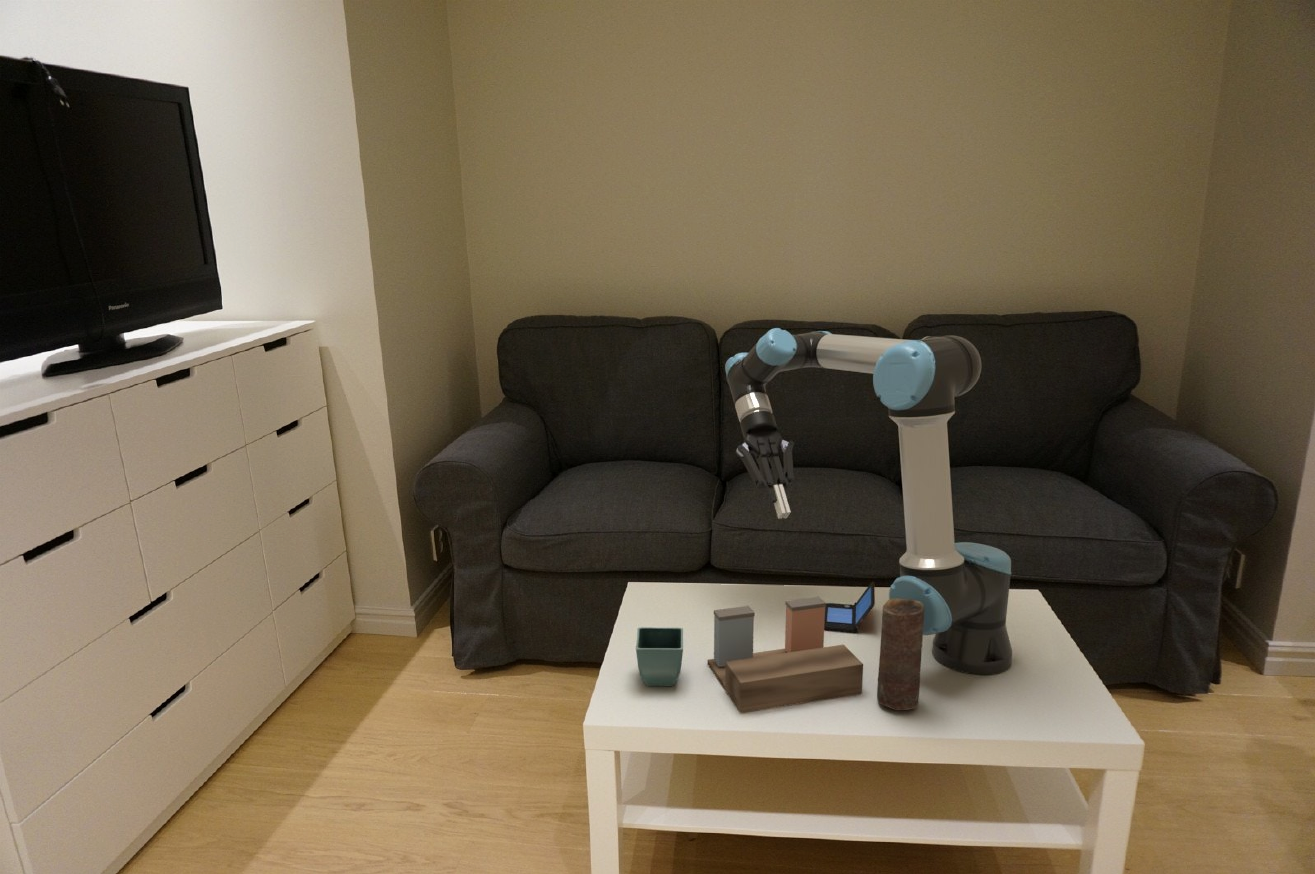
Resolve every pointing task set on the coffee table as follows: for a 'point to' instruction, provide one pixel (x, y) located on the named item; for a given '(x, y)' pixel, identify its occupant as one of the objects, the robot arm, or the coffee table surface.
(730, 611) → the key slate
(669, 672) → the flower pot
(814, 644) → the key terracotta
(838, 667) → the key block
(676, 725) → the coffee table surface
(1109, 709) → the coffee table surface
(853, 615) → the handheld game console
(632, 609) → the coffee table surface
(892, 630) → the candle
